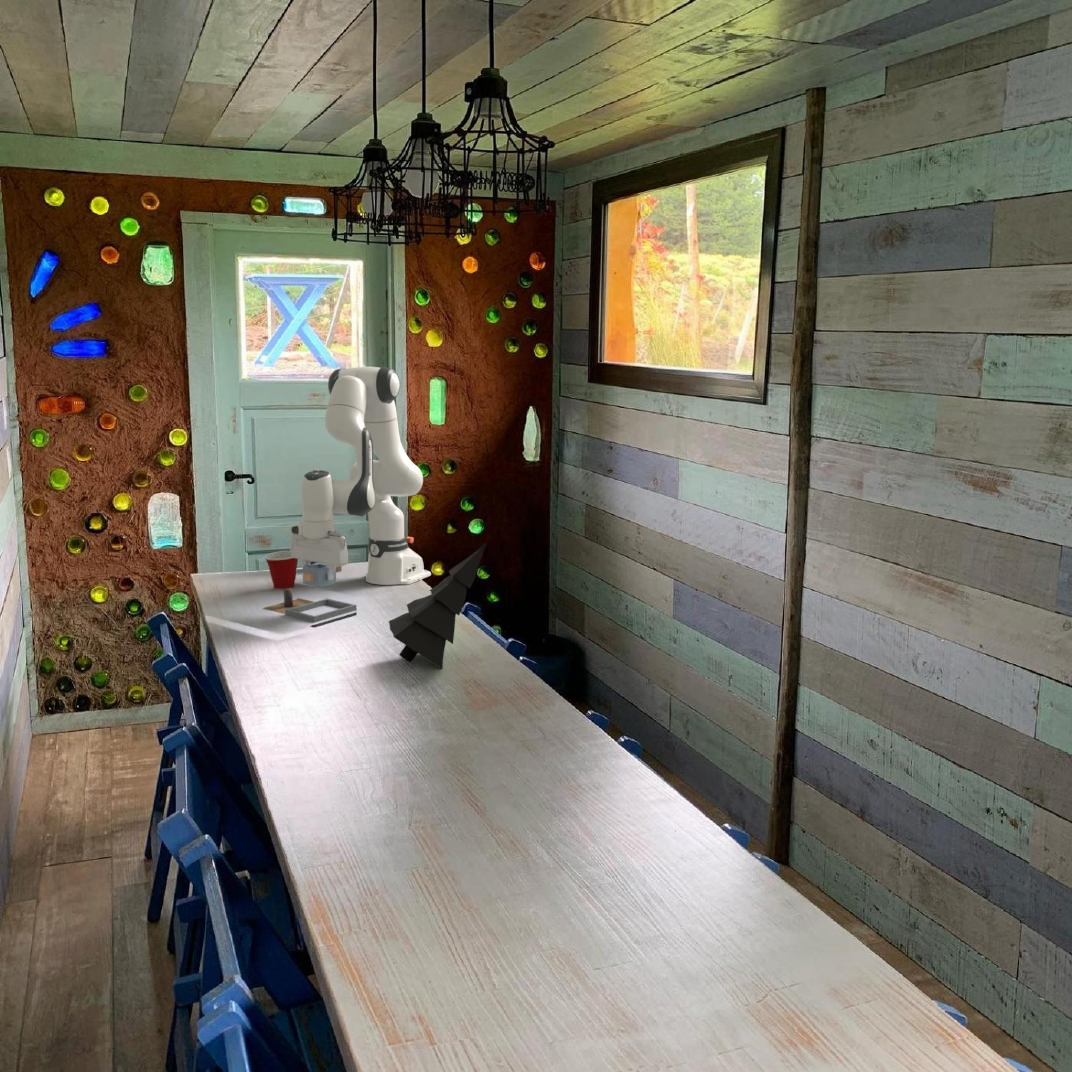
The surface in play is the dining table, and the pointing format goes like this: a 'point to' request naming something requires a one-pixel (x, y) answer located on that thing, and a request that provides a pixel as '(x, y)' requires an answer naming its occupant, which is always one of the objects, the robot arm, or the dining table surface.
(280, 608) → the board
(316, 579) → the collar
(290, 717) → the dining table surface
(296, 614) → the tray
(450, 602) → the decorative tree
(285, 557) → the plastic cup
